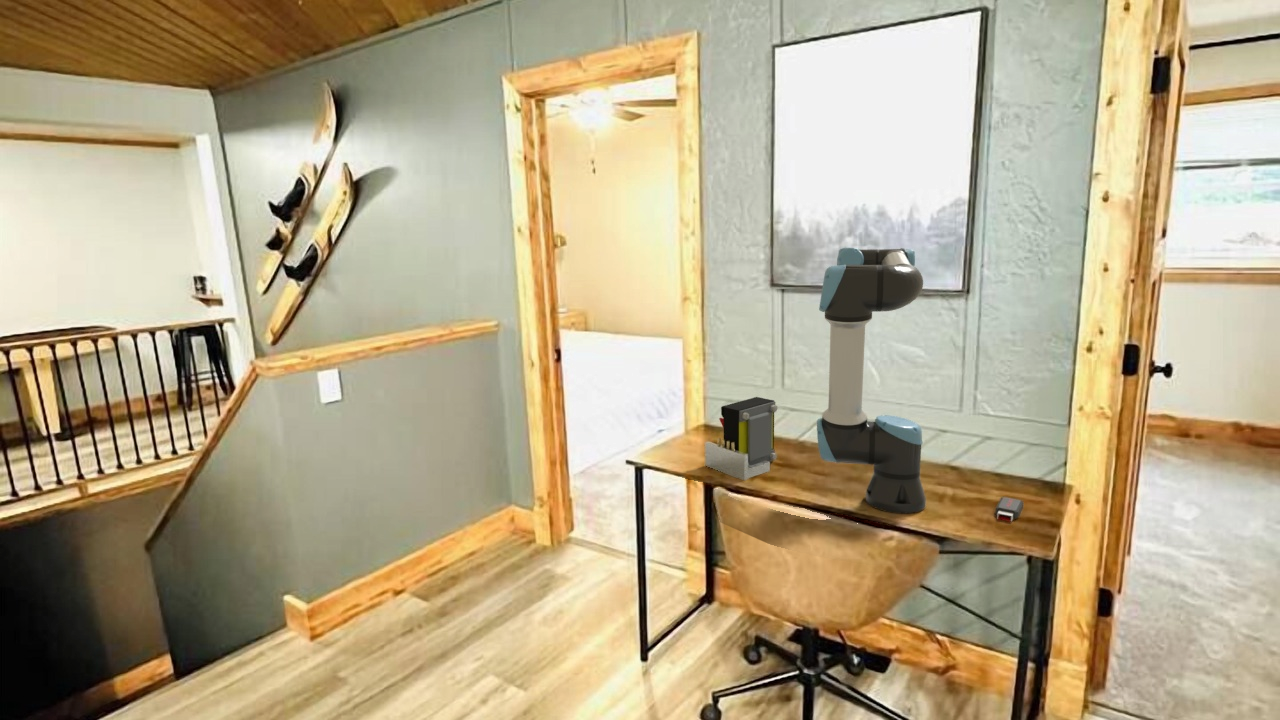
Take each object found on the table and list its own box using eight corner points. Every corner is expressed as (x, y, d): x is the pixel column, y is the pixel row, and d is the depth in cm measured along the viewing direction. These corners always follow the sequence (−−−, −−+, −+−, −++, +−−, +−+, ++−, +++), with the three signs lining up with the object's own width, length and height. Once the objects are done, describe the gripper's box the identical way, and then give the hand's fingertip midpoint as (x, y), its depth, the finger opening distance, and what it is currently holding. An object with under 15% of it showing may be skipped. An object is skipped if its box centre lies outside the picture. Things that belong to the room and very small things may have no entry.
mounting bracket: (770, 471, 203) (771, 439, 201) (744, 480, 196) (744, 447, 194) (731, 458, 217) (731, 427, 215) (705, 466, 209) (705, 435, 207)
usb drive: (1023, 508, 172) (1023, 498, 172) (1015, 524, 163) (1016, 514, 162) (1000, 504, 175) (1001, 494, 175) (992, 519, 166) (993, 509, 166)
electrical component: (743, 474, 201) (743, 411, 198) (719, 466, 209) (719, 405, 205) (779, 461, 213) (779, 401, 209) (754, 454, 220) (754, 396, 217)
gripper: (850, 299, 217) (844, 369, 217) (823, 294, 210) (817, 367, 210) (869, 298, 211) (863, 371, 211) (842, 294, 204) (836, 369, 204)
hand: (840, 369), depth 211 cm, fingers closed
